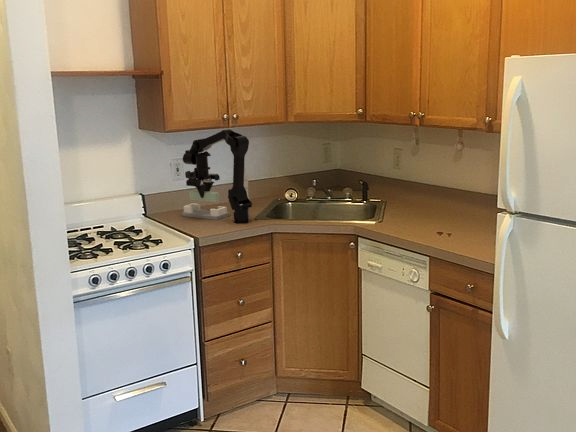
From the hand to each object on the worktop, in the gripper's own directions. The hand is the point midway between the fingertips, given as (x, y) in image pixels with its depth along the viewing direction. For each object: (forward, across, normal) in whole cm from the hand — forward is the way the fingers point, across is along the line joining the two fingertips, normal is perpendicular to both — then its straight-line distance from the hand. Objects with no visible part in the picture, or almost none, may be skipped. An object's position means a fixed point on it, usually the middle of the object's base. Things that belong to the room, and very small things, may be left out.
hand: (204, 197), depth 319 cm
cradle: (+9, 0, 0) cm, 9 cm away
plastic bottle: (+9, -24, +5) cm, 26 cm away
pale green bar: (+1, 0, 0) cm, 1 cm away
